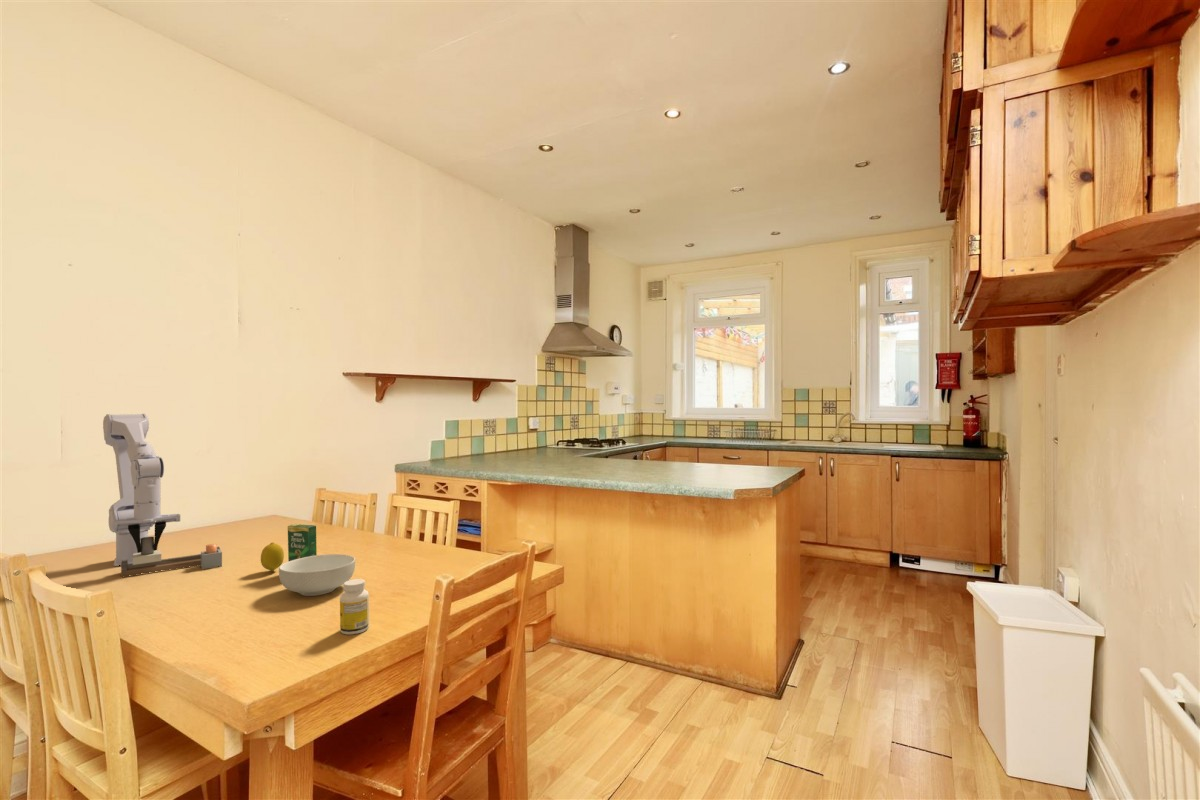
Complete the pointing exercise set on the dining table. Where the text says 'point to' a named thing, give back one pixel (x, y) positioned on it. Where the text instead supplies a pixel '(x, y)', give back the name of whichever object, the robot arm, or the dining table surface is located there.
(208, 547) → the orange cylindrical peg
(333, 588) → the cereal bowl
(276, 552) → the lemon
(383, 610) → the dining table surface
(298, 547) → the coffee box
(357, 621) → the supplement bottle
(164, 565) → the rail board
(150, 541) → the carriage
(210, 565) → the box
